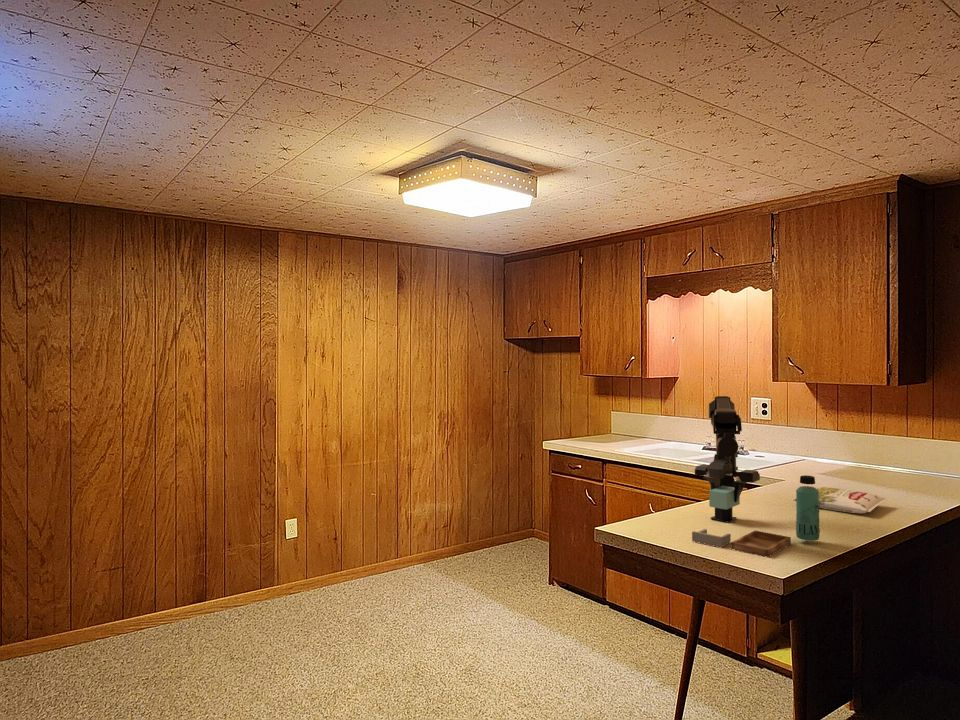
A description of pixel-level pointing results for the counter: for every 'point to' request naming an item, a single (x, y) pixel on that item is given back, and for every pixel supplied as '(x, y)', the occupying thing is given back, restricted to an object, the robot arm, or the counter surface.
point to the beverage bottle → (807, 510)
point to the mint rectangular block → (722, 497)
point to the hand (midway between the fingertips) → (726, 500)
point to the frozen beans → (847, 500)
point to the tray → (761, 543)
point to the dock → (710, 538)
